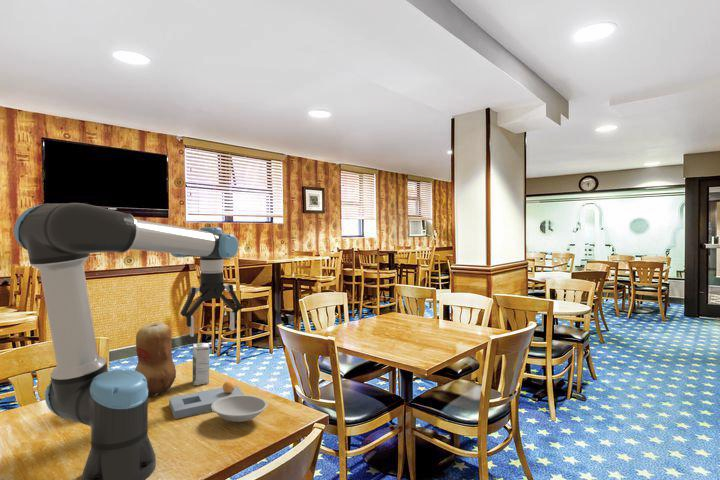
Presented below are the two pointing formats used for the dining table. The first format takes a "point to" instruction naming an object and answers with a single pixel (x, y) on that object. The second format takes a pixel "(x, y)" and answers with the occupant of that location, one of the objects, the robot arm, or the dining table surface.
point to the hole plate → (198, 401)
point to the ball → (228, 386)
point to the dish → (239, 407)
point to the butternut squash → (155, 357)
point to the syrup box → (200, 363)
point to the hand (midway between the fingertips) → (212, 333)
